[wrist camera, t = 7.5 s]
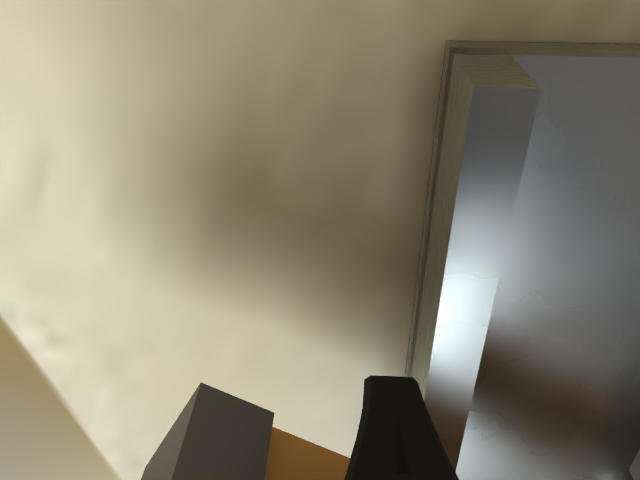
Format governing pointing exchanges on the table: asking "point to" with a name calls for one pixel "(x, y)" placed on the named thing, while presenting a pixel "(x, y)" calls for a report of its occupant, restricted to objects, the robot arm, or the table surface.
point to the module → (636, 467)
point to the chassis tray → (533, 262)
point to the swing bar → (237, 445)
